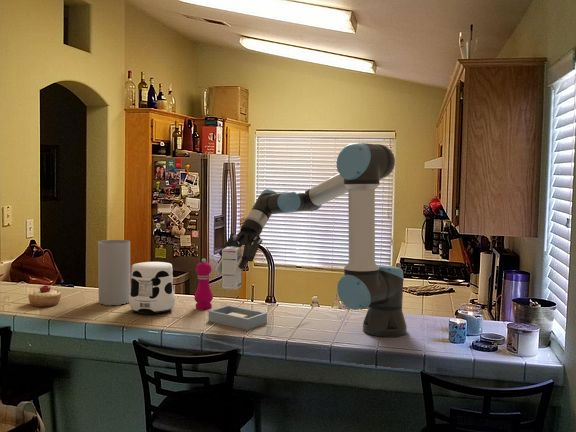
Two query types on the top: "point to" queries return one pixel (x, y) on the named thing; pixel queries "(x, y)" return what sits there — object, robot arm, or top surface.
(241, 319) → the tray
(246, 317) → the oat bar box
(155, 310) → the milk container
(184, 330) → the top surface
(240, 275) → the syrup box
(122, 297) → the cylinder vase
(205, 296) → the pepper mill
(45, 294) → the pastry
